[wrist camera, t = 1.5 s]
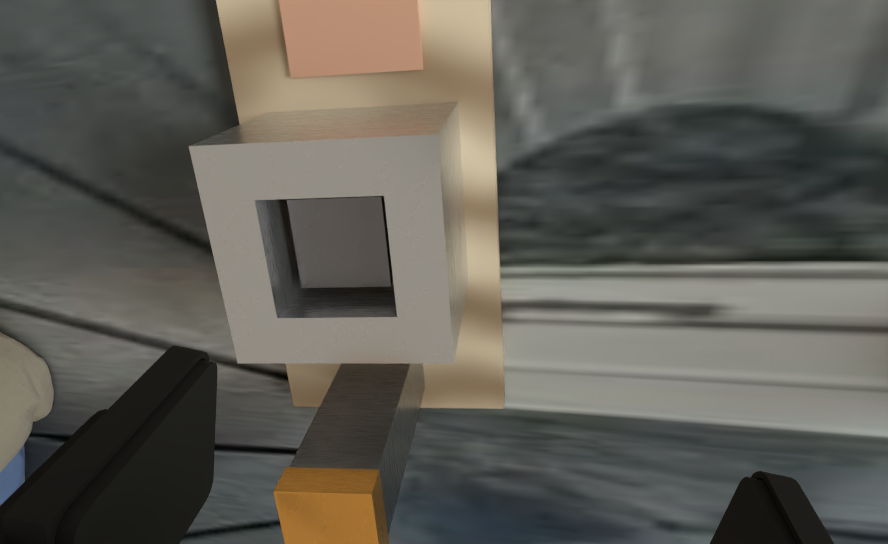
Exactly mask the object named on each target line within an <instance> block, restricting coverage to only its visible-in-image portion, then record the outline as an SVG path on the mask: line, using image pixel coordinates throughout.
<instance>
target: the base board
mask: <svg viewBox="0 0 888 544" xmlns="http://www.w3.org/2000/svg"><path fill="white" fill-rule="evenodd" d="M216 3H217V9H218V14H219V19H220V24H221V30H222V35H223V40H224V45H225V50H226V56H227V61H228V66H229V71H230V77H231V82H232V87H233V92H234V97H235V103H236V108H237V113H238V118H239V124H242V123H245V122H247V121H249V120H252V119H254V118H256V117H259V116H261V115H264V114H266V113H268V112H282V111H301V110H319V109H338V108H357V107H375V106H394V105H412V104H431V103H449V102H458V103H459V120H460V138H461V156H462V173H463V191H464V208H465V226H466V243H467V261H468V278H469V285H468V290H467V296H466V301H465V306H464V312H463V317H462V322H461V328H460V333H459V338H458V344H457V349H456V354H455V360H454V364H423V370H424V381H425V390H424V394H423V398H422V402H421V406H420V408H490V409H504V397H505V393H504V365H503V336H502V308H501V280H500V252H499V224H498V196H497V167H496V139H495V111H494V83H493V55H492V26H491V0H418V5H419V18H420V31H421V44H422V57H423V70H409V71H393V72H376V73H360V74H344V75H327V76H311V77H295V78H291V76H290V69H289V63H288V56H287V50H286V44H285V37H284V31H283V24H282V18H281V11H280V5H279V0H216ZM285 364H286V369H287V374H288V380H289V385H290V390H291V395H292V400H293V406H294V407H320V405H321V403H322V401H323V399H324V397H325V395H326V393H327V391H328V389H329V387H330V385H331V383H332V381H333V379H334V377H335V375H336V373H337V371H338V369H339V367H340V365H341V363H285Z"/></svg>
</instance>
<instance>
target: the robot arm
mask: <svg viewBox="0 0 888 544" xmlns="http://www.w3.org/2000/svg"><path fill="white" fill-rule="evenodd" d="M216 392H217V365H216V363H214V362H210V361H209V357H208V354H207V353H206V352H203V351H198V350H193V349H189V348H184V347H180V346H172V347H171V348H169V349H168V350H167V351H166V352H165V353H164V354H163V355H162V356H161V357H160V358H159V359H158V360H157V361H156V362H155V363H154V364H153V365H152V366H151V367H150V368H149V369H148V370H147V371H146V372H145V373H144V374H143V375H142V376H141V377H140V378H139V379H138V380H137V381H136V382H135V383H134V384H133V385H132V386H131V387H130V388H129V389H128V390H127V391H126V392H125V393H124V394H123V395H122V396H121V397H120V398H119V399H118V400H117V401H116V402H115V403H114V404H113V405H112V406H111V407H110V408H109V409H108V410H106V409H105V410H101V411H98V412H97V413H96V414H94V415H93V416H92V417H91V418H90V419H89V420H88V421H87V422H85V423H84V424H83V425H82V426H81V427H80V428H79V429H78V430H77V431H76V432H75V433H74V434H73V435H72V436H71V437H70V438H69V439H68V440H67V441H66V442H65V443H64V444H63V445H62V446H61V447H60V448H59V449H58V450H57V451H56V452H55V453H54V454H53V455H52V456H51V457H50V458H49V459H48V460H47V461H46V462H44V463H43V464H42V465H41V466H40V467H39V468H38V469H37V470H36V471H35V472H34V473H33V474H32V475H31V476H30V477H29V478H28V479H27V480H26V481H25V482H24V483H23V484H22V485H21V486H20V487H19V488H18V489H17V490H16V491H15V492H14V493H13V494H12V495H11V496H10V497H9V498H8V499H7V500H6V501H4V502H3V503H2V504H1V505H0V544H179V543H180V542H181V540H182V538H183V537H184V535H185V534H186V532H187V530H188V529H189V527H190V525H191V524H192V522H193V521H194V519H195V517H196V516H197V514H198V513H199V511H200V509H201V508H202V506H203V505H204V503H205V501H206V500H207V498H208V496H209V493H210V490H211V487H212V483H213V474H214V446H215V419H216ZM710 544H834V543H833V541H832V539H831V538H830V536H829V534H828V533H827V531H826V529H825V527H824V526H823V524H822V522H821V521H820V519H819V517H818V516H817V514H816V512H815V511H814V509H813V507H812V506H811V504H810V502H809V500H808V499H807V497H806V495H805V494H804V492H803V490H802V489H801V487H800V485H799V484H798V483H797V481H796V480H795V479H793V478H790V477H785V476H780V475H776V474H771V473H766V472H762V471H758V472H755V473H754V474H753V475H752V476H751V478H749V477H745V478H743V479H742V480H741V482H740V483H739V485H738V487H737V489H736V491H735V493H734V496H733V498H732V500H731V502H730V504H729V506H728V508H727V510H726V512H725V514H724V516H723V518H722V520H721V522H720V524H719V526H718V528H717V530H716V532H715V534H714V536H713V538H712V541H711V543H710Z"/></svg>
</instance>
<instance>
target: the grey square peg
mask: <svg viewBox="0 0 888 544" xmlns="http://www.w3.org/2000/svg"><path fill="white" fill-rule="evenodd" d="M424 390H425V381H424V370H423V364H380V363H341V365H340V367H339V369H338V371H337V373H336V375H335V377H334V379H333V381H332V383H331V385H330V387H329V389H328V391H327V393H326V395H325V397H324V399H323V401H322V403H321V405H320V407H319V409H318V411H317V413H316V415H315V417H314V419H313V421H312V423H311V425H310V427H309V429H308V431H307V433H306V435H305V437H304V439H303V441H302V443H301V445H300V447H299V449H298V451H297V453H296V455H295V457H294V459H293V461H292V463H291V465H290V467H286V468H285V470H284V472H283V474H282V476H281V478H280V480H279V482H278V484H277V486H276V488H275V489H274V491H273V492H274V496H275V501H276V505H277V510H278V514H279V519H280V523H281V528H282V532H283V537H284V542H285V544H389V538H388V534H389V530H390V526H391V522H392V518H393V514H394V510H395V506H396V502H397V498H398V494H399V490H400V486H401V482H402V478H403V474H404V470H405V466H406V462H407V458H408V454H409V450H410V446H411V442H412V438H413V434H414V430H415V426H416V422H417V418H418V414H419V410H420V406H421V402H422V398H423V394H424Z"/></svg>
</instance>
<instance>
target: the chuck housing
mask: <svg viewBox="0 0 888 544" xmlns="http://www.w3.org/2000/svg"><path fill="white" fill-rule="evenodd" d="M189 150H190V154H191V159H192V163H193V168H194V172H195V177H196V181H197V185H198V190H199V194H200V199H201V203H202V208H203V212H204V217H205V221H206V225H207V230H208V234H209V239H210V243H211V248H212V252H213V256H214V261H215V265H216V270H217V274H218V279H219V283H220V287H221V292H222V296H223V301H224V305H225V310H226V314H227V318H228V323H229V327H230V332H231V336H232V341H233V345H234V349H235V354H236V358H237V363H380V364H454V360H455V354H456V349H457V344H458V338H459V333H460V328H461V322H462V317H463V312H464V306H465V301H466V296H467V290H468V285H469V278H468V261H467V243H466V226H465V208H464V191H463V173H462V156H461V138H460V120H459V103H458V102H449V103H431V104H412V105H394V106H375V107H357V108H338V109H319V110H301V111H282V112H268V113H266V114H264V115H261V116H259V117H256V118H254V119H252V120H249V121H247V122H245V123H242V124H240V125H238V126H235V127H233V128H231V129H228V130H226V131H223V132H221V133H219V134H216V135H214V136H212V137H209V138H207V139H205V140H202V141H200V142H197V143H195V144H193V145H190V146H189ZM362 196H384V201H385V210H386V219H387V228H388V238H389V247H390V256H391V265H392V275H393V284H392V286H391V287H333V288H302V287H301V281H300V275H299V269H298V263H297V258H296V252H295V246H294V240H293V234H292V228H291V222H290V217H289V211H288V205H287V199H305V198H333V197H362Z"/></svg>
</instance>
